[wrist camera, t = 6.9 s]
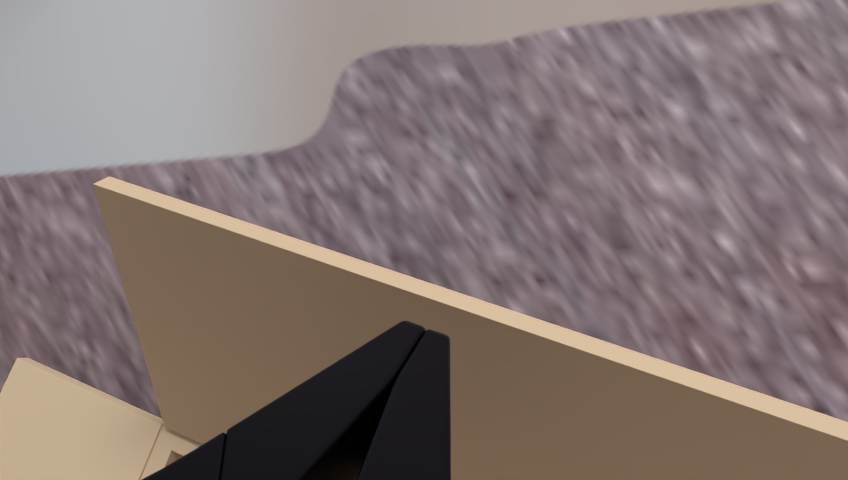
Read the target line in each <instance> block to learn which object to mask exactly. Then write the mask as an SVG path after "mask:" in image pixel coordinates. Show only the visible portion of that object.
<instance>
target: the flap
mask: <svg viewBox="0 0 848 480" xmlns="http://www.w3.org/2000/svg"><path fill="white" fill-rule="evenodd" d="M93 185H94V189H95V192H96V196H97V199H98V202H99V206H100V209H101V213H102V216H103V219H104V223H105V226H106V230H107V233H108V236H109V240H110V243H111V247H112V250H113V253H114V257H115V260H116V263H117V267H118V270H119V274H120V277H121V280H122V284H123V287H124V291H125V294H126V297H127V301H128V304H129V308H130V311H131V314H132V318H133V321H134V325H135V328H136V331H137V335H138V338H139V342H140V345H141V348H142V352H143V355H144V359H145V362H146V365H147V369H148V372H149V375H150V379H151V382H152V386H153V389H154V392H155V396H156V399H157V403H158V406H159V409H160V413H161V416H162V420H163V423H164V426H165V427H167V428H169V429H171V430H173V431H175V432H178V433H180V434H182V435H184V436H186V437H189V438H191V439H193V440H195V441H197V442H199V443H202V444H204V443H206V442H208V441H209V440H211V439H212V438H214V437H216V436H217V435H219V434H220V433H223V432H224V433H227V430H228V429H229V428H231V427H232V426H234V425H235V424H237V423H239V422H240V421H242V420H243V419H245V418H247V417H248V416H250V415H251V414H253V413H255V412H256V411H258V410H259V409H261V408H263V407H264V406H266V405H268V404H269V403H271V402H272V401H274V400H276V399H277V398H279V397H280V396H282V395H284V394H285V393H287V392H288V391H290V390H292V389H293V388H295V387H296V386H298V385H300V384H301V383H303V382H304V381H306V380H308V379H309V378H311V377H313V376H314V375H316V374H317V373H319V372H321V371H322V370H324V369H325V368H327V367H329V366H330V365H332V364H333V363H335V362H337V361H338V360H340V359H341V358H343V357H345V356H346V355H348V354H350V353H351V352H353V351H354V350H356V349H358V348H359V347H361V346H362V345H364V344H366V343H367V342H369V341H370V340H372V339H374V338H375V337H377V336H378V335H380V334H382V333H383V332H385V331H387V330H388V329H390V328H391V327H393V326H395V325H396V324H398V323H399V322H401V321H409V322H412V323H415V324H417V325H420V326H423V327H424V328H425V329H426V330H428V329H431V330H434V331H437V332H440V333H443V334H445V335H448V336H449V338H450V403H451V480H848V422H846V421H843V420H840V419H837V418H834V417H831V416H828V415H825V414H822V413H819V412H816V411H813V410H810V409H807V408H804V407H801V406H798V405H795V404H792V403H789V402H786V401H783V400H780V399H777V398H774V397H771V396H768V395H765V394H762V393H759V392H756V391H753V390H750V389H747V388H744V387H741V386H738V385H735V384H732V383H729V382H726V381H723V380H720V379H717V378H714V377H711V376H708V375H705V374H702V373H699V372H696V371H693V370H690V369H687V368H684V367H681V366H678V365H675V364H672V363H669V362H666V361H663V360H660V359H657V358H654V357H651V356H648V355H645V354H642V353H639V352H635V351H632V350H629V349H626V348H623V347H620V346H617V345H614V344H611V343H608V342H605V341H602V340H599V339H596V338H593V337H590V336H587V335H584V334H581V333H578V332H575V331H572V330H569V329H566V328H563V327H560V326H557V325H554V324H551V323H548V322H545V321H542V320H539V319H536V318H533V317H530V316H527V315H524V314H521V313H518V312H515V311H512V310H509V309H506V308H503V307H500V306H497V305H494V304H491V303H488V302H485V301H482V300H479V299H476V298H473V297H470V296H467V295H464V294H461V293H458V292H455V291H452V290H449V289H446V288H443V287H440V286H437V285H434V284H431V283H428V282H425V281H422V280H419V279H416V278H413V277H410V276H407V275H404V274H401V273H398V272H395V271H392V270H389V269H386V268H383V267H380V266H377V265H374V264H371V263H368V262H365V261H362V260H359V259H356V258H353V257H350V256H347V255H344V254H341V253H338V252H335V251H332V250H329V249H326V248H323V247H320V246H317V245H314V244H311V243H308V242H305V241H302V240H299V239H296V238H293V237H290V236H287V235H284V234H281V233H278V232H275V231H272V230H269V229H266V228H263V227H260V226H257V225H254V224H251V223H248V222H245V221H242V220H239V219H236V218H233V217H230V216H227V215H224V214H221V213H218V212H215V211H212V210H209V209H206V208H203V207H200V206H197V205H194V204H191V203H188V202H185V201H182V200H179V199H176V198H173V197H170V196H167V195H164V194H161V193H158V192H155V191H152V190H149V189H146V188H143V187H140V186H137V185H134V184H130V183H127V182H124V181H121V180H118V179H115V178H112V177H107V178H105V179H103V180H101V181H98V182H96V183H94V184H93Z"/></svg>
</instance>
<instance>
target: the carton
mask: <svg viewBox="0 0 848 480" xmlns="http://www.w3.org/2000/svg"><path fill="white" fill-rule="evenodd" d="M201 445H203V444H202V443H199V442H197V441H195V440H193V439H191V438H189V437H186V436H184V435H182V434H180V433H178V432H175V431H173V430H171V429H169V428H167V427H165V426H164V423H163V420H162V419H161V418H159V417H157V416H154V415H152V414H150V413H148V412H146V411H143V410H141V409H139V408H137V407H135V406H132V405H130V404H128V403H126V402H124V401H122V400H119V399H117V398H115V397H113V396H111V395H108V394H106V393H104V392H102V391H100V390H97V389H95V388H93V387H91V386H89V385H86V384H84V383H82V382H80V381H78V380H75V379H73V378H71V377H69V376H67V375H64V374H62V373H60V372H58V371H56V370H53V369H51V368H49V367H47V366H45V365H42V364H40V363H38V362H36V361H34V360H31V359H29V358H17V359H16V361H15V363H14V366H13V368H12V370H11V372H10V374H9V376H8V378H7V380H6V382H5V384H4V387H3V389H2V391H1V393H0V480H142V479H144V478H145V477H147V476H149V475H151V474H153V473H155V472H157V471H159V470H161V469H162V468H164V467H166V466H167V465H169V464H171V463H172V462H174V461H176V460H178V459H179V458H181V457H183V456H184V455H186V454H188V453H189V452H191V451H193V450H195V449H196V448H198V447H200V446H201Z"/></svg>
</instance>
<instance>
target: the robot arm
mask: <svg viewBox="0 0 848 480" xmlns="http://www.w3.org/2000/svg"><path fill="white" fill-rule="evenodd" d="M142 480H451V403H450V338H449V336H448V335H445V334H443V333H440V332H437V331H434V330H431V329H428V330H426V329H425V328H424V327H423V326H420V325H417V324H415V323H412V322H409V321H401V322H399V323H398V324H396V325H395V326H393V327H391V328H390V329H388V330H387V331H385V332H383V333H382V334H380V335H378V336H377V337H375V338H374V339H372V340H370V341H369V342H367V343H366V344H364V345H362V346H361V347H359V348H358V349H356V350H354V351H353V352H351V353H350V354H348V355H346V356H345V357H343V358H341V359H340V360H338V361H337V362H335V363H333V364H332V365H330V366H329V367H327V368H325V369H324V370H322V371H321V372H319V373H317V374H316V375H314V376H313V377H311V378H309V379H308V380H306V381H304V382H303V383H301V384H300V385H298V386H296V387H295V388H293V389H292V390H290V391H288V392H287V393H285V394H284V395H282V396H280V397H279V398H277V399H276V400H274V401H272V402H271V403H269V404H268V405H266V406H264V407H263V408H261V409H259V410H258V411H256V412H255V413H253V414H251V415H250V416H248V417H247V418H245V419H243V420H242V421H240V422H239V423H237V424H235V425H234V426H232V427H231V428H229V429H228V430H227V433H224V432H223V433H220V434H219V435H217V436H216V437H214V438H212V439H211V440H209V441H208V442H206V443H204V444H203V445H201V446H200V447H198V448H196V449H195V450H193V451H191V452H189V453H188V454H186V455H184V456H183V457H181V458H179V459H178V460H176V461H174V462H172V463H171V464H169V465H167V466H166V467H164V468H162V469H161V470H159V471H157V472H155V473H153V474H151V475H149V476H147V477H145V478H144V479H142Z"/></svg>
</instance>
